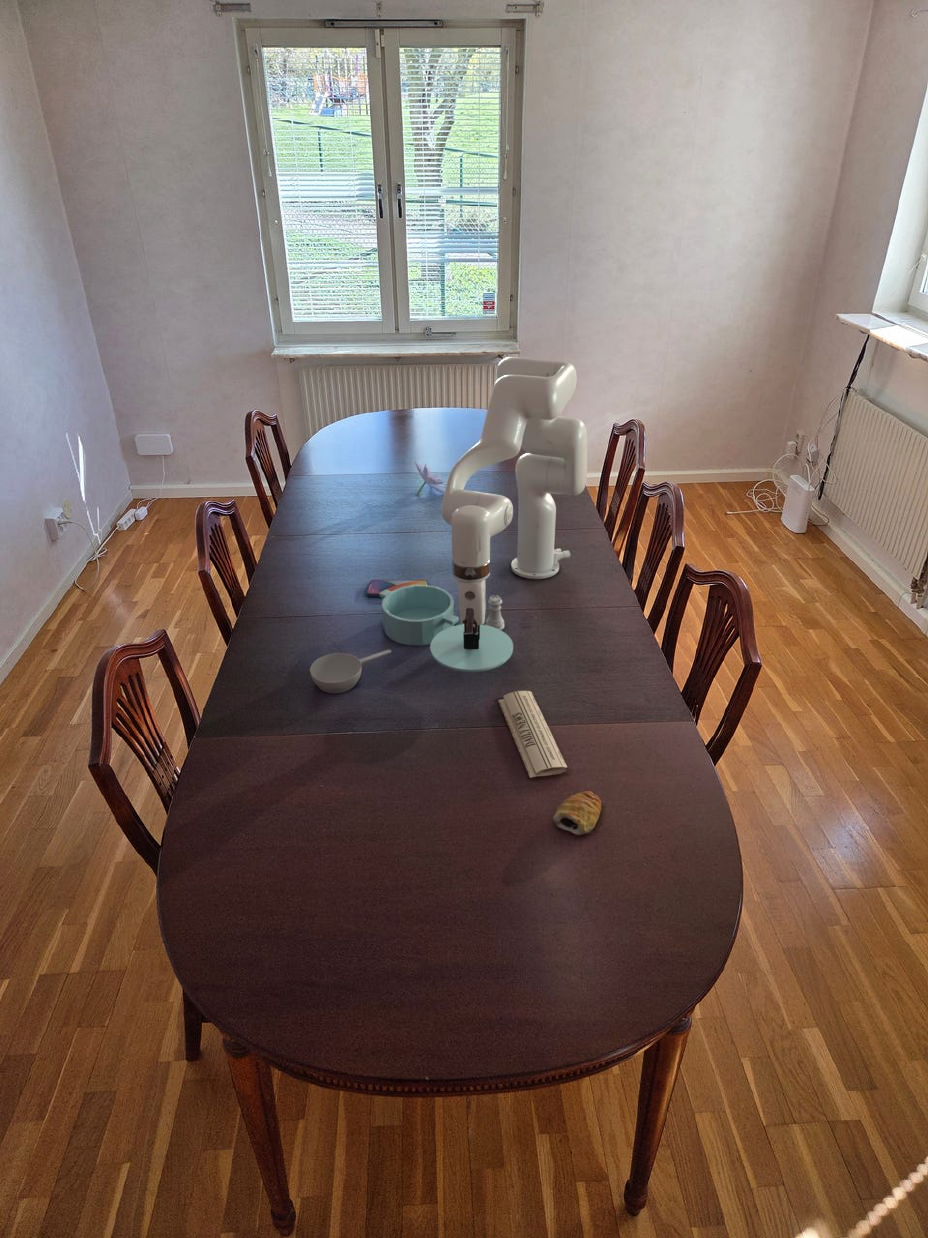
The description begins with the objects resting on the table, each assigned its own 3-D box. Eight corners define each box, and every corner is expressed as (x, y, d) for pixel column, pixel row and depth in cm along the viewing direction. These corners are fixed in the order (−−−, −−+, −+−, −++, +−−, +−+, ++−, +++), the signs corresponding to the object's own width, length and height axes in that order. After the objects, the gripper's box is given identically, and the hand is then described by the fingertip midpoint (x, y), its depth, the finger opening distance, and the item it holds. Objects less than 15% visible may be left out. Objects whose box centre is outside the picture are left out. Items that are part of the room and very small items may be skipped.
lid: (463, 620, 184) (462, 596, 181) (529, 645, 175) (529, 620, 172) (413, 655, 172) (412, 630, 169) (481, 684, 163) (481, 659, 160)
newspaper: (567, 772, 149) (568, 765, 148) (530, 778, 148) (530, 771, 147) (531, 696, 169) (531, 689, 168) (498, 700, 168) (498, 693, 167)
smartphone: (371, 582, 211) (371, 579, 210) (429, 583, 209) (428, 579, 209) (365, 597, 205) (365, 593, 204) (425, 598, 203) (425, 594, 203)
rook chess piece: (492, 620, 194) (492, 591, 190) (508, 626, 192) (508, 596, 188) (481, 628, 191) (481, 599, 187) (497, 634, 189) (498, 605, 185)
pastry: (576, 792, 145) (577, 776, 143) (610, 808, 142) (612, 792, 139) (549, 825, 138) (551, 809, 136) (585, 842, 135) (587, 826, 133)
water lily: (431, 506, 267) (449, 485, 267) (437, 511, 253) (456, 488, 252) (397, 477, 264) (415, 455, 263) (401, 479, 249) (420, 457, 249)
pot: (406, 597, 204) (404, 575, 200) (477, 625, 193) (477, 601, 189) (360, 626, 193) (358, 603, 189) (433, 657, 181) (432, 633, 178)
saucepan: (305, 674, 176) (303, 660, 174) (382, 652, 183) (381, 638, 181) (321, 701, 168) (319, 686, 166) (401, 677, 175) (400, 662, 173)
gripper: (488, 587, 156) (488, 666, 166) (491, 549, 170) (491, 624, 180) (449, 586, 157) (451, 665, 166) (455, 548, 170) (456, 623, 180)
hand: (471, 643), depth 173 cm, fingers closed on lid, 2 cm apart
